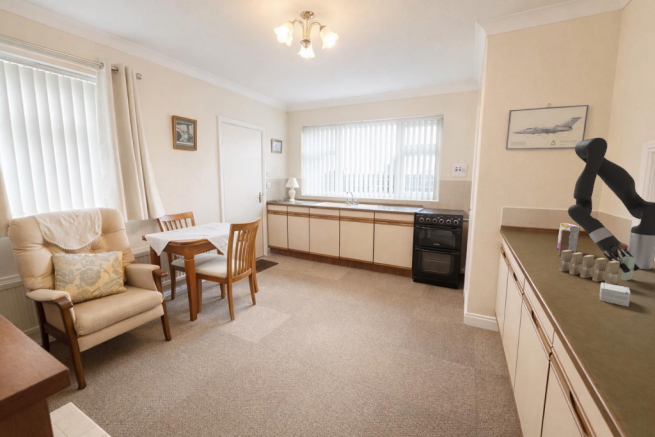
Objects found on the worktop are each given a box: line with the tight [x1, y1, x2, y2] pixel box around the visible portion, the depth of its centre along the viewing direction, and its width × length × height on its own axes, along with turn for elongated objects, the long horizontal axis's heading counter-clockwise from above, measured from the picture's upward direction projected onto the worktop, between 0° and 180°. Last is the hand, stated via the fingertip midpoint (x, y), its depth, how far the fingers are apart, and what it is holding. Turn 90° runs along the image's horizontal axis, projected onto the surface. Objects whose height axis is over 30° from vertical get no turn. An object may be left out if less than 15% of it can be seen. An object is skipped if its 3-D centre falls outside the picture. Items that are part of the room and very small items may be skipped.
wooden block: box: [558, 230, 574, 259], centre depth 163 cm, size 7×3×15 cm, turn 57°
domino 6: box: [620, 257, 636, 282], centre depth 129 cm, size 2×5×10 cm, turn 110°
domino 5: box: [604, 261, 620, 285], centre depth 123 cm, size 2×5×10 cm, turn 110°
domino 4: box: [591, 257, 608, 283], centre depth 127 cm, size 2×5×10 cm, turn 110°
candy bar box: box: [556, 222, 581, 253], centre depth 174 cm, size 11×5×16 cm, turn 168°
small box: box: [599, 282, 632, 307], centre depth 108 cm, size 8×8×5 cm
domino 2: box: [568, 252, 584, 276], centre depth 135 cm, size 2×5×10 cm, turn 110°
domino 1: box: [558, 250, 572, 273], centre depth 140 cm, size 2×5×10 cm, turn 111°
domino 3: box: [579, 254, 595, 279], centre depth 131 cm, size 2×5×10 cm, turn 110°
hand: (632, 271), depth 127 cm, fingers open, 6 cm apart
